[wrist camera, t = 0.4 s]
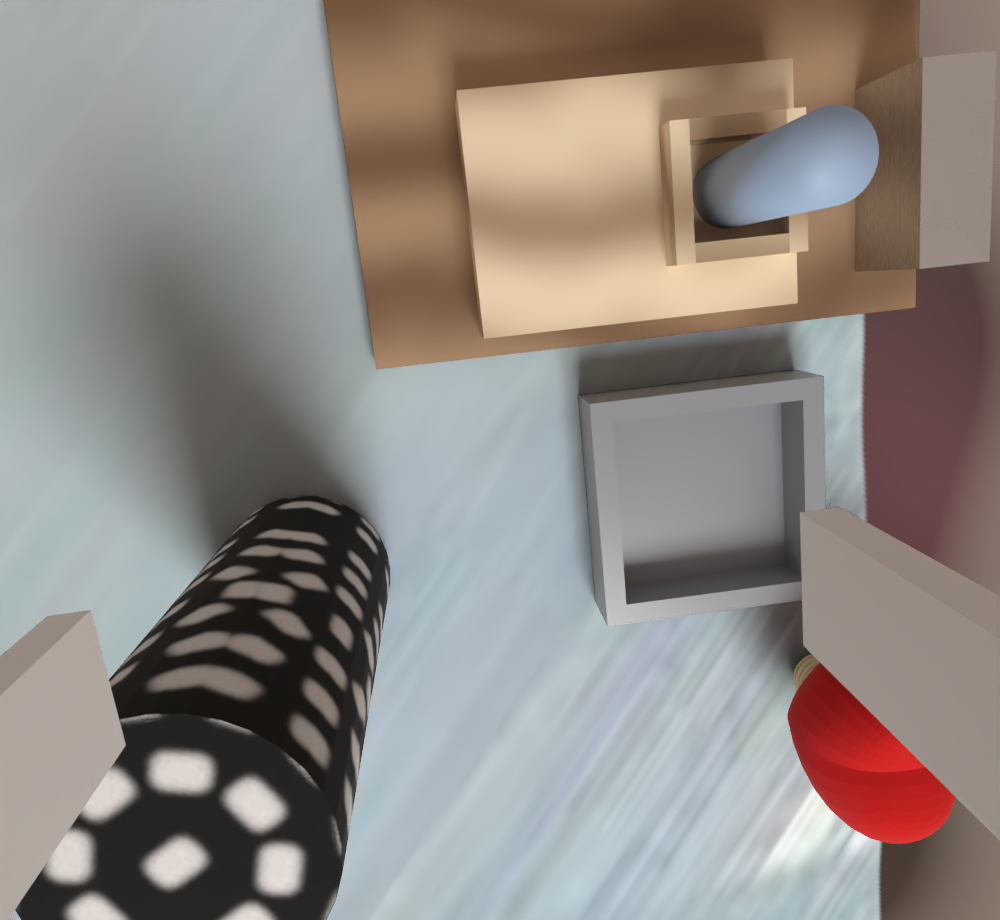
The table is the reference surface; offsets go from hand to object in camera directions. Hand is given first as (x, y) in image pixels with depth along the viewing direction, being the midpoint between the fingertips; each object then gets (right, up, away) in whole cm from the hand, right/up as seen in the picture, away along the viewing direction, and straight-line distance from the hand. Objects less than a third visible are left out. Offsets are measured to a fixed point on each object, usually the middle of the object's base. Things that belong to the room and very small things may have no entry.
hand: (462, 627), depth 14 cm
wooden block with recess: (+6, +15, +21) cm, 26 cm away
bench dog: (+19, +16, +21) cm, 33 cm away
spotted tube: (-9, -3, +25) cm, 27 cm away
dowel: (+10, +15, +18) cm, 26 cm away
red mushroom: (+18, -8, +28) cm, 34 cm away
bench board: (+7, +17, +21) cm, 28 cm away
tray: (+11, +2, +25) cm, 27 cm away
